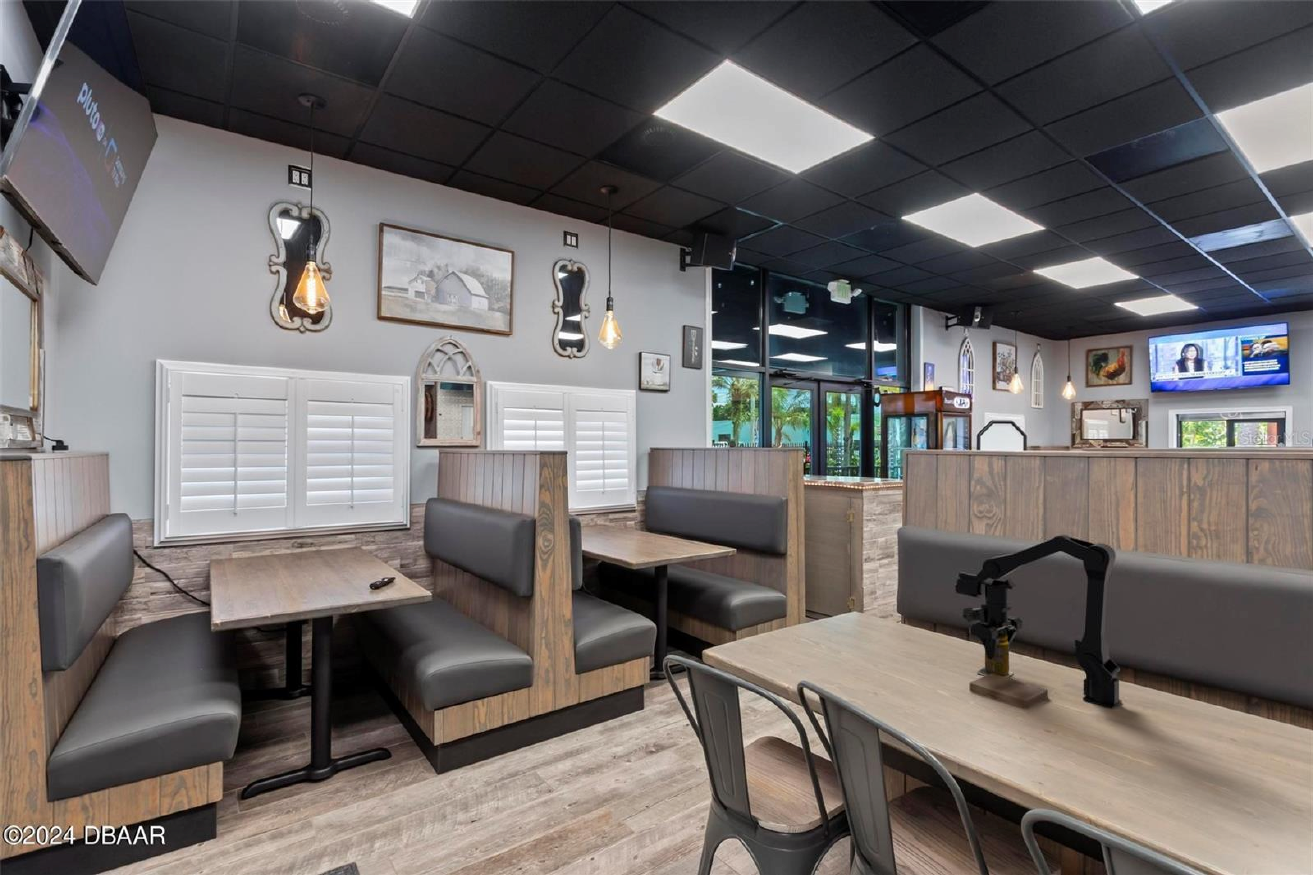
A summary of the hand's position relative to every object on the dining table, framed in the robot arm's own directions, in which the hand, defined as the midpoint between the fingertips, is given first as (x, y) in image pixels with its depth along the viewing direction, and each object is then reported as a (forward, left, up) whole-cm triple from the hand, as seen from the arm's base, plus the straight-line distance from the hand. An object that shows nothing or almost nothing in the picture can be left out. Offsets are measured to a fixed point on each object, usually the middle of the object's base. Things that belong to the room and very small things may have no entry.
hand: (996, 656), depth 176 cm
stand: (-9, +12, -5) cm, 16 cm away
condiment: (0, 0, -5) cm, 5 cm away
